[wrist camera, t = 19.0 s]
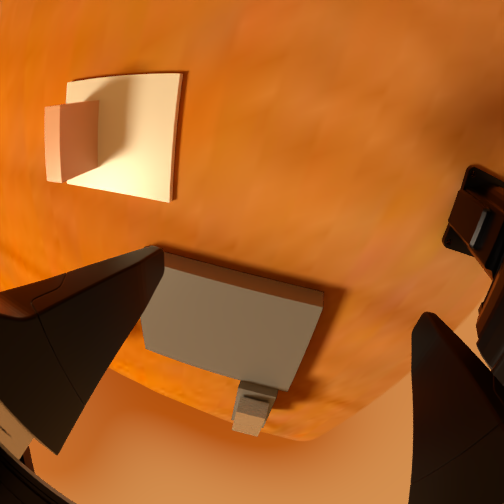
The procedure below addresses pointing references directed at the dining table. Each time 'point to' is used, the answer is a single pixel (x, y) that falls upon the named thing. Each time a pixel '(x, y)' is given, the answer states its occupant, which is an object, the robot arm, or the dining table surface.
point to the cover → (116, 134)
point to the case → (232, 325)
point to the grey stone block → (250, 416)
